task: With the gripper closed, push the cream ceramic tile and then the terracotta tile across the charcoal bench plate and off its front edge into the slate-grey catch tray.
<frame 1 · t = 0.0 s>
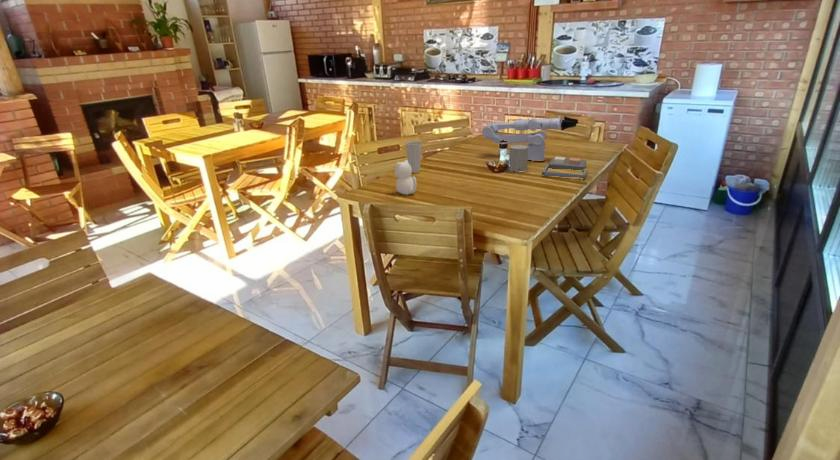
hand: (577, 122, 236), 22 cm above the table, tool horizontal, fingers open, 7 cm apart
cup: (414, 171, 240), on the table
cream tile: (559, 161, 237), point 3 cm above the table, touching bench plate
bench plate: (567, 167, 237), on the table
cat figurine: (407, 193, 208), on the table
catch tray: (564, 174, 226), on the table
terracotta tile: (574, 163, 234), point 3 cm above the table, touching bench plate
grey canister: (517, 170, 237), on the table
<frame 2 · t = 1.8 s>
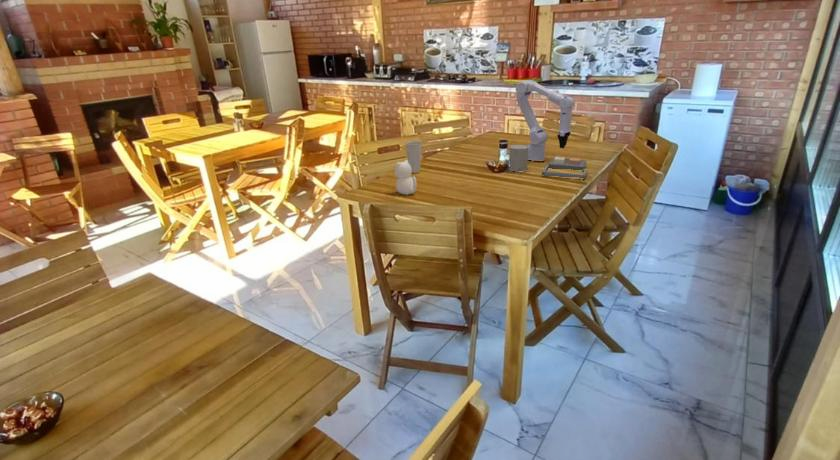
hand: (562, 146, 240), 9 cm above the table, tool pointing down, fingers open, 5 cm apart
nothing on the table moved.
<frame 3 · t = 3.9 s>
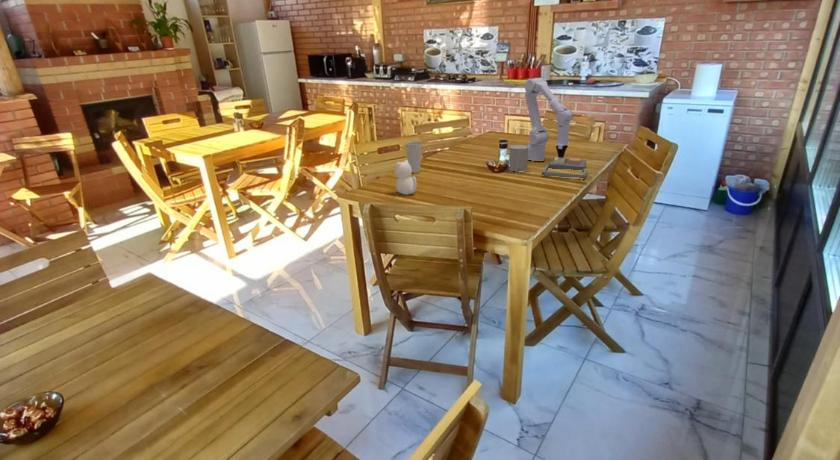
hand: (560, 159, 239), 4 cm above the table, tool pointing down, fingers closed
cream tile: (559, 162, 237), point 3 cm above the table, touching bench plate, gripper
everything else where it was.
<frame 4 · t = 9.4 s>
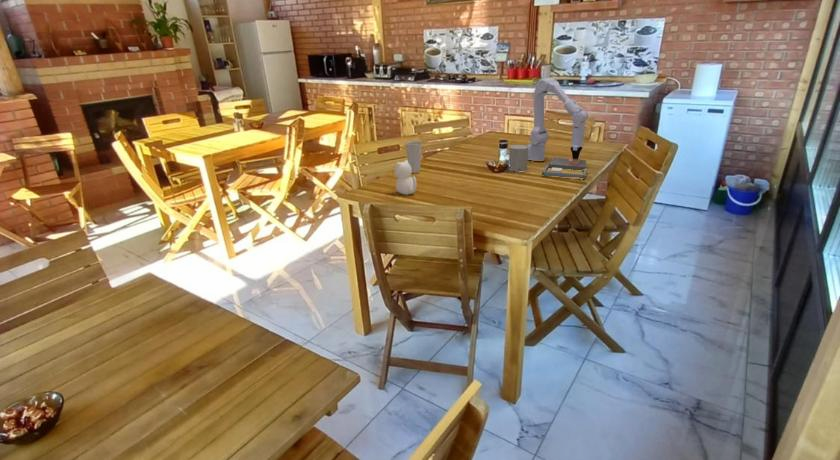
hand: (575, 160, 235), 4 cm above the table, tool pointing down, fingers closed
cream tile: (556, 169, 227), point 2 cm above the table, tilted 180°, touching catch tray
terracotta tile: (574, 163, 233), point 3 cm above the table, touching gripper
everything else where it was.
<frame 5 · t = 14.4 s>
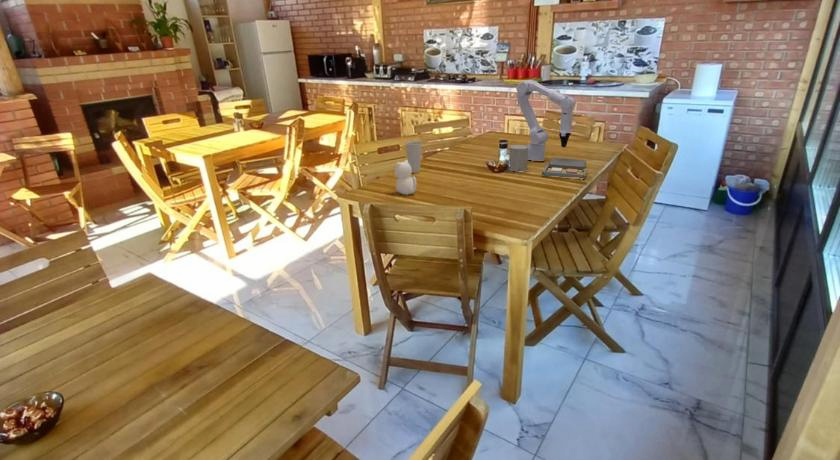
hand: (563, 147, 240), 9 cm above the table, tool pointing down, fingers closed
terracotta tile: (572, 170, 224), point 2 cm above the table, tilted 180°, touching catch tray
everything else where it was.
at the end: cream tile inside the target area on the catch tray (4.0 cm from its centre), point 2.4 cm above the catch tray's base; terracotta tile inside the target area on the catch tray (3.4 cm from its centre), point 2.4 cm above the catch tray's base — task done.
